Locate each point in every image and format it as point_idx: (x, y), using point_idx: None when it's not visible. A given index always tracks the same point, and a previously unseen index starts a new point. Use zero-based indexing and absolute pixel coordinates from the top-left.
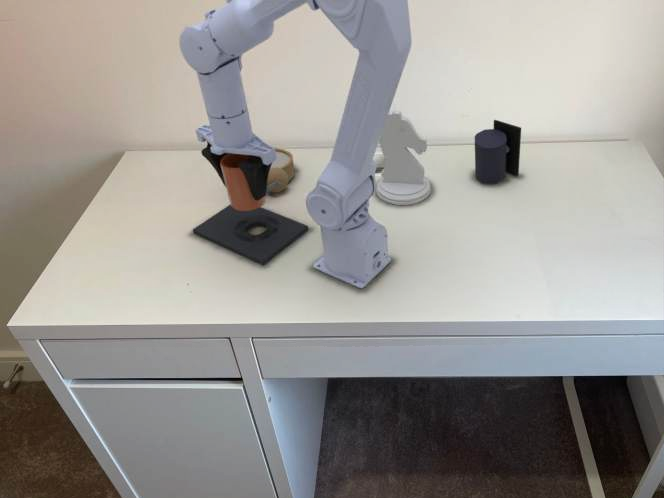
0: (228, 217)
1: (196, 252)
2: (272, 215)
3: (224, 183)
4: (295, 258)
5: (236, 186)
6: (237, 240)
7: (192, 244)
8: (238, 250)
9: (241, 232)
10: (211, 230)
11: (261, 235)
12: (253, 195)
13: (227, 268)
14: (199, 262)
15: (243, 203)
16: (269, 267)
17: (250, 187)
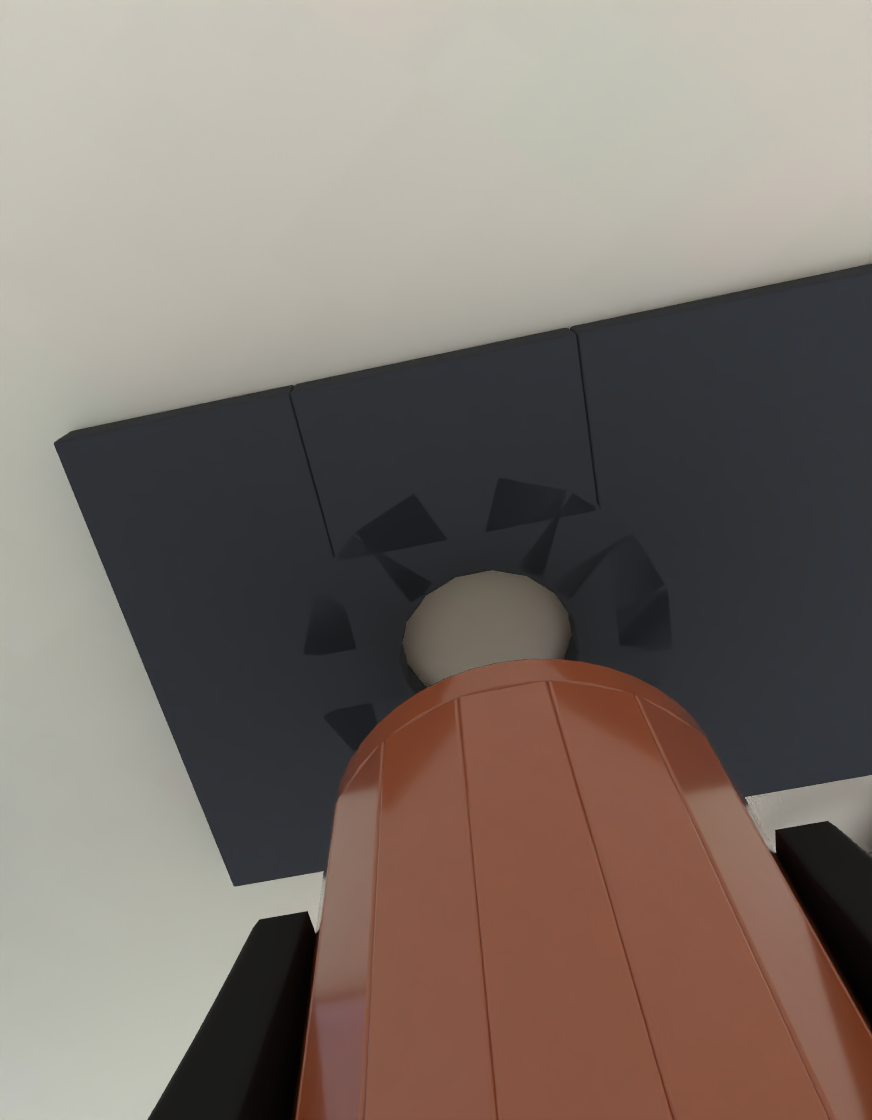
0: (795, 583)
1: (664, 100)
2: None
3: (862, 885)
4: (2, 641)
5: (412, 1010)
6: (466, 459)
7: (798, 146)
8: (334, 385)
9: (535, 543)
10: (776, 379)
11: (372, 626)
12: (257, 974)
13: (236, 182)
14: (508, 27)
15: (375, 786)
16: (18, 451)
17: (226, 1111)
